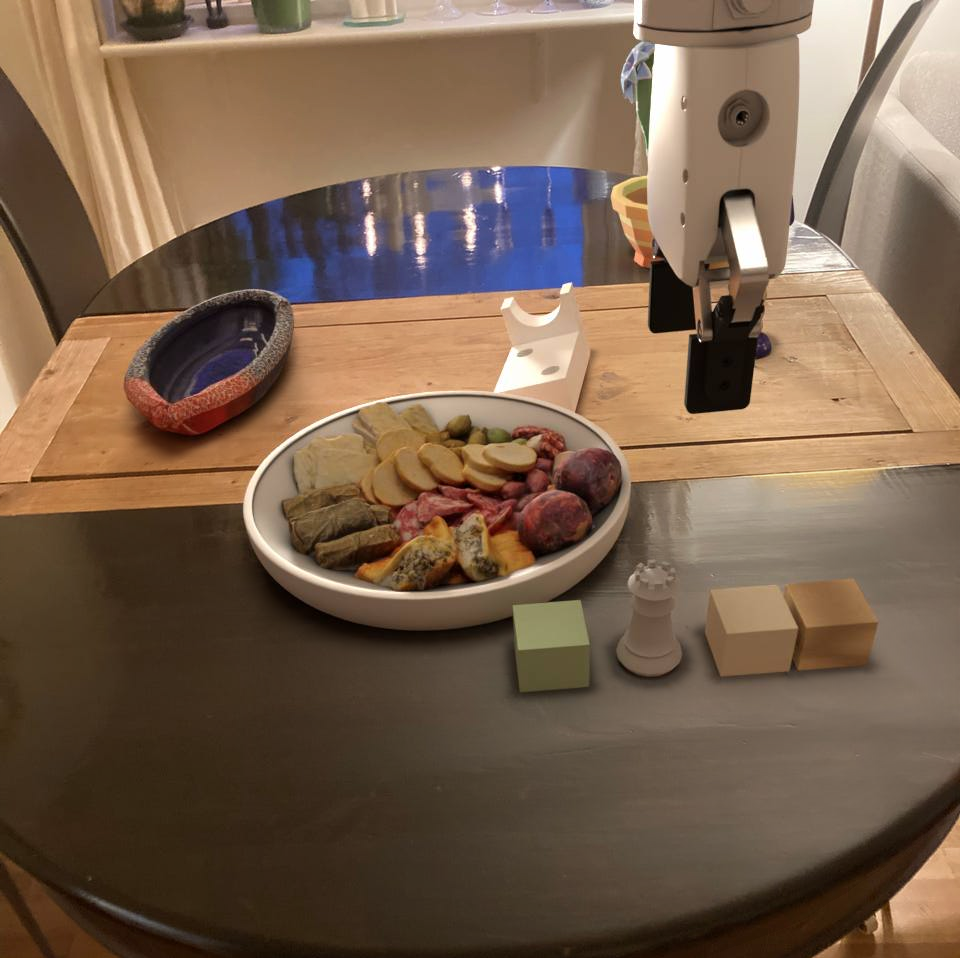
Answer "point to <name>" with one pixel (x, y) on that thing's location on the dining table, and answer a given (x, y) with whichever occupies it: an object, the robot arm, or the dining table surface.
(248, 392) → the dish
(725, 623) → the cream block
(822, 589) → the birch block
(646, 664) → the rook chess piece
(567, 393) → the bracket
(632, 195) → the potted cactus
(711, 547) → the dining table surface
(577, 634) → the sage block
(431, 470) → the bowl
